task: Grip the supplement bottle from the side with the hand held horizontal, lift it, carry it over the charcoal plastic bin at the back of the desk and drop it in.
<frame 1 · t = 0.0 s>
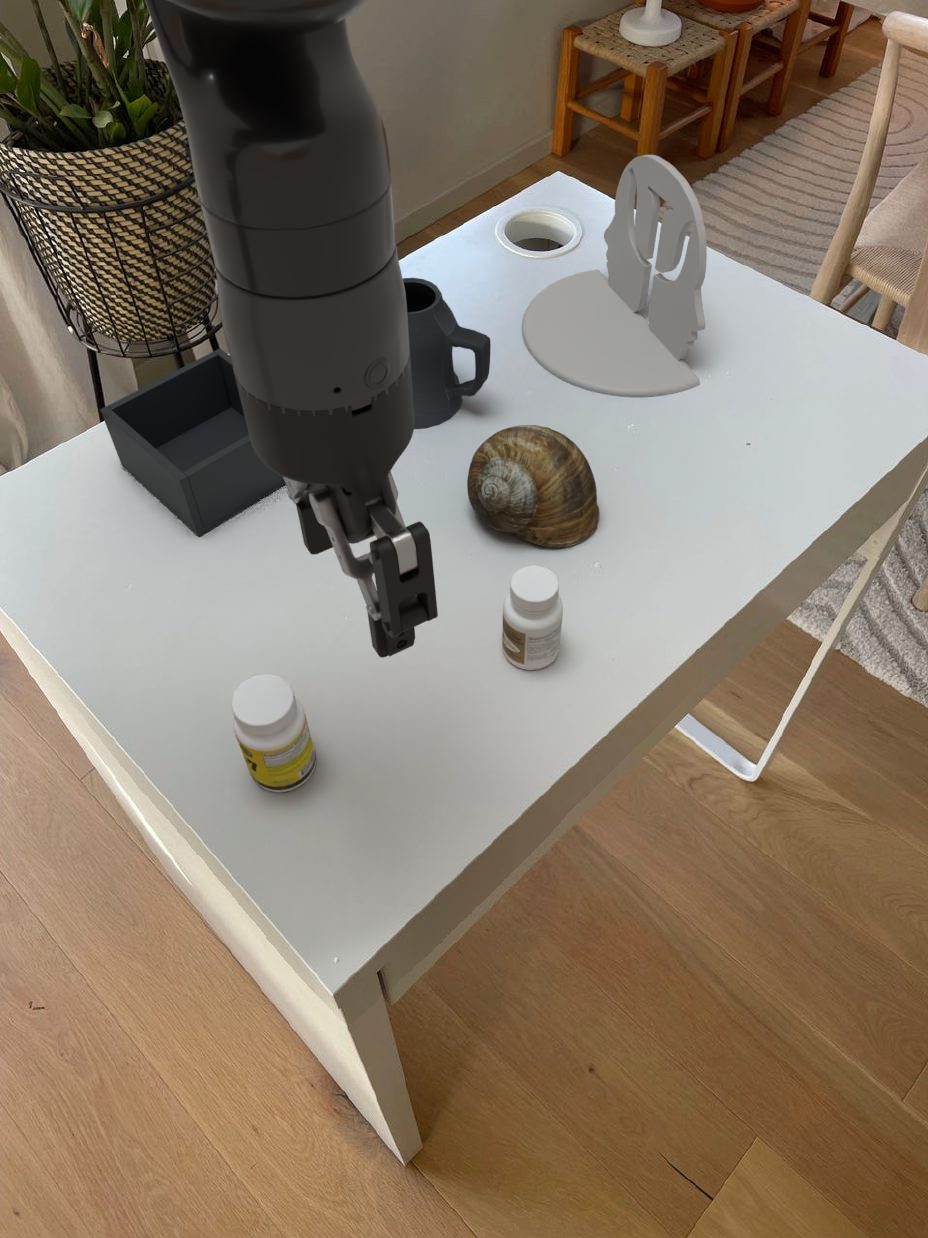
hand: (358, 594, 53), 19 cm above the table, tool pointing down, fingers open, 8 cm apart
ornament: (590, 341, 98), on the table
mug: (429, 403, 92), on the table
bin: (217, 467, 87), on the table
pill bottle: (530, 650, 74), on the table
supplement bottle: (283, 765, 68), on the table
seashell: (531, 516, 83), on the table
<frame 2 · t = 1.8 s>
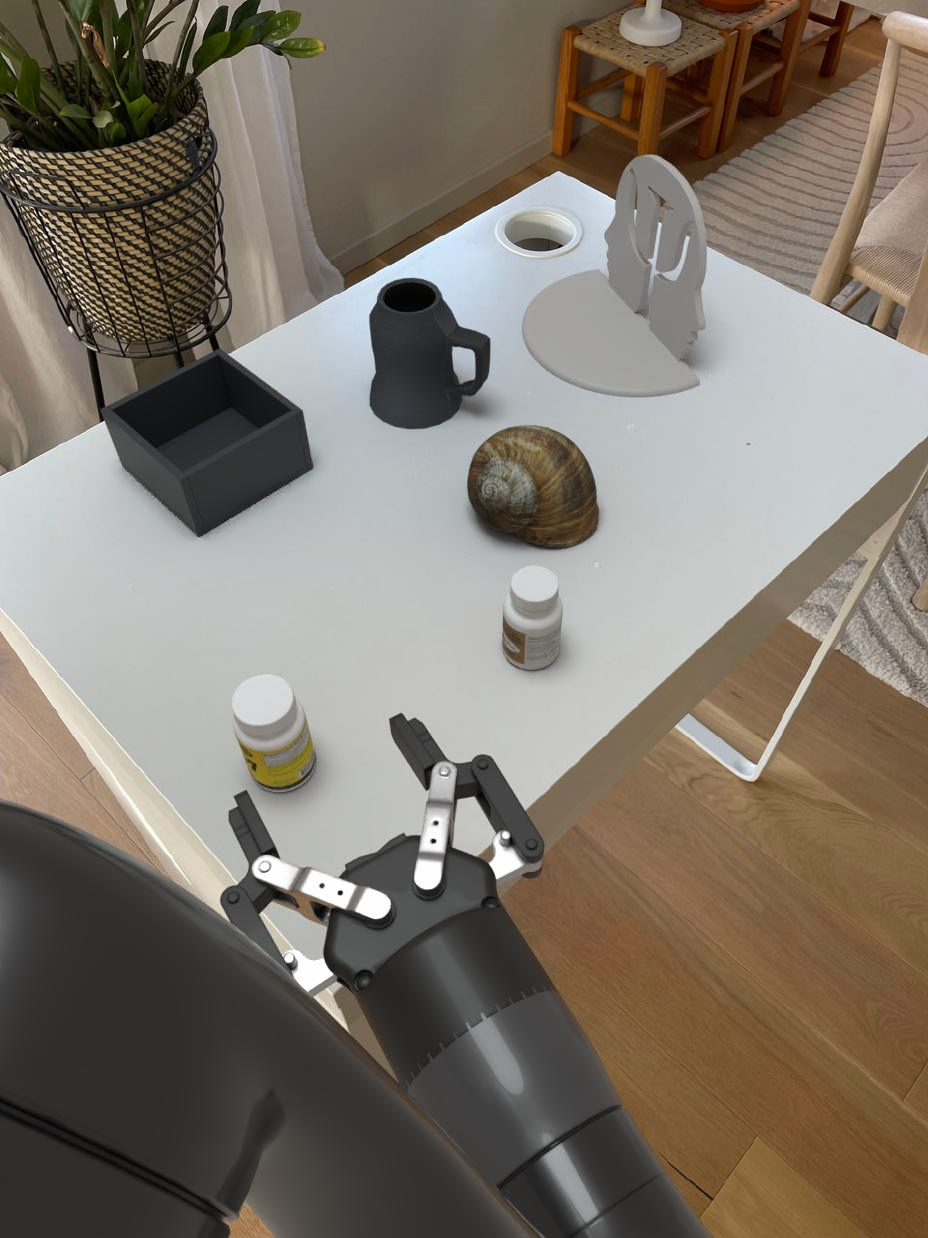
hand: (320, 761, 48), 17 cm above the table, tool horizontal, fingers open, 8 cm apart
nothing on the table moved.
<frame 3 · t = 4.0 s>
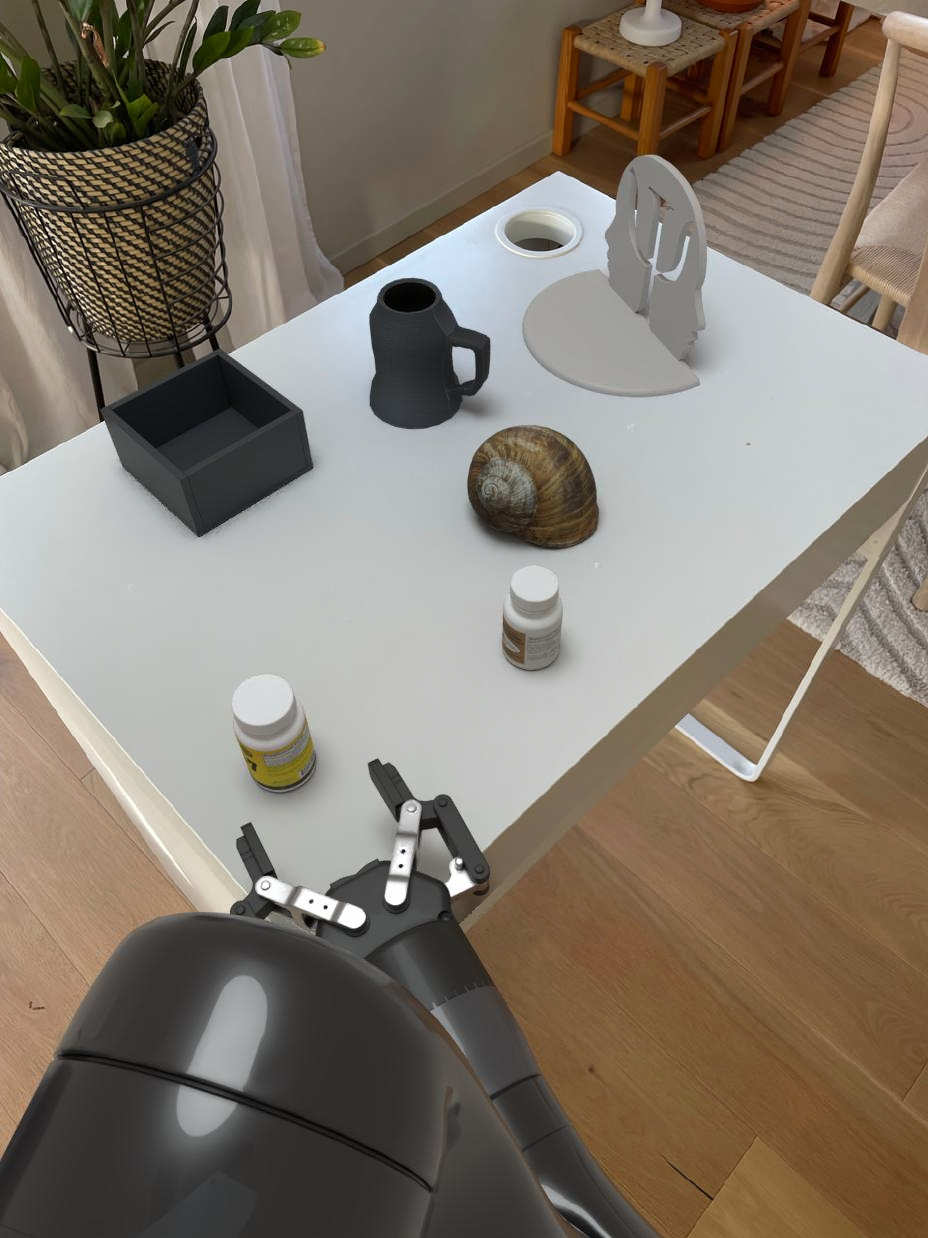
hand: (311, 797, 59), 6 cm above the table, tool horizontal, fingers open, 8 cm apart
nothing on the table moved.
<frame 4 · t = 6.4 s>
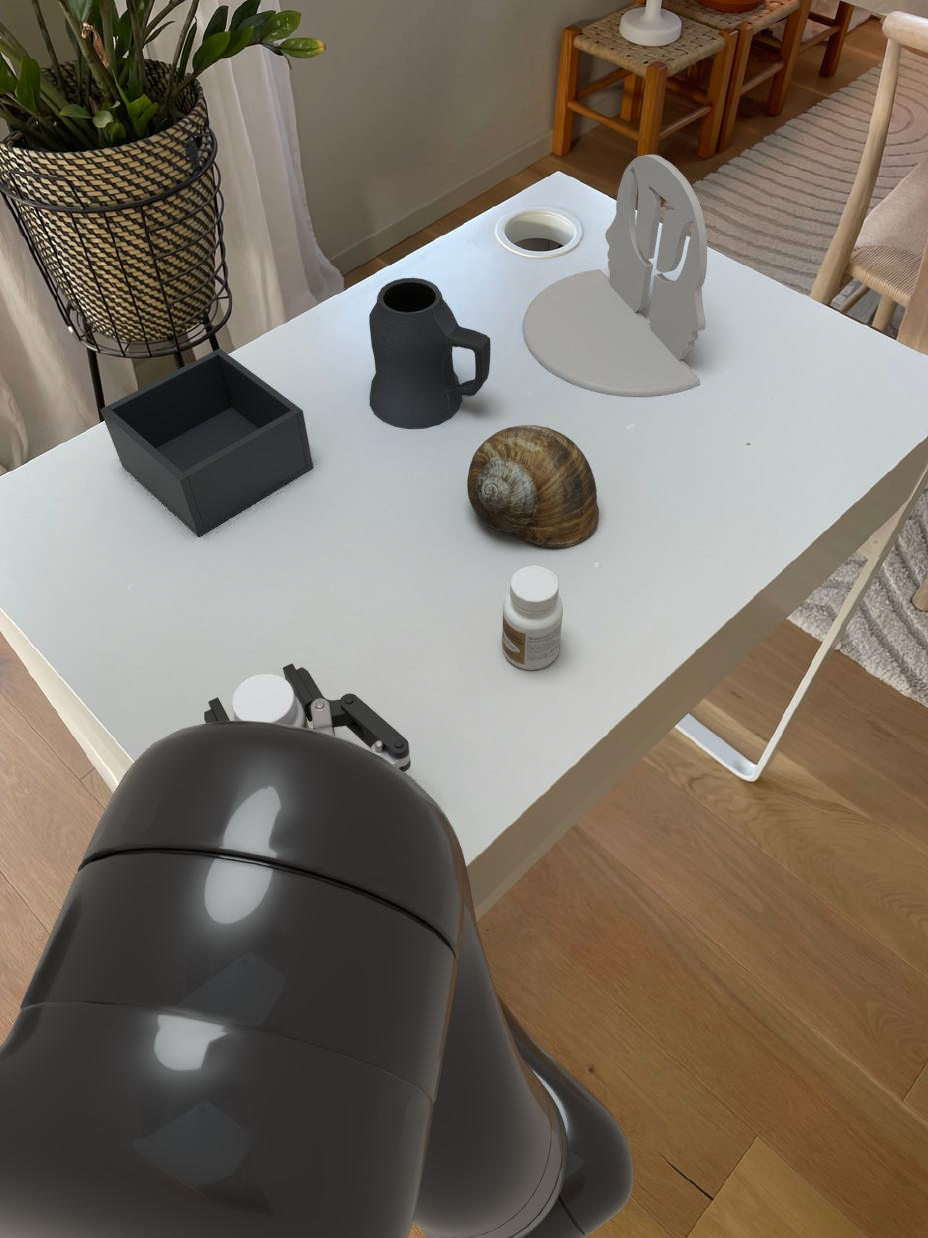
hand: (252, 689, 64), 6 cm above the table, tool horizontal, fingers closed on supplement bottle, 4 cm apart
supplement bottle: (283, 765, 68), on the table, touching gripper
everything else where it was.
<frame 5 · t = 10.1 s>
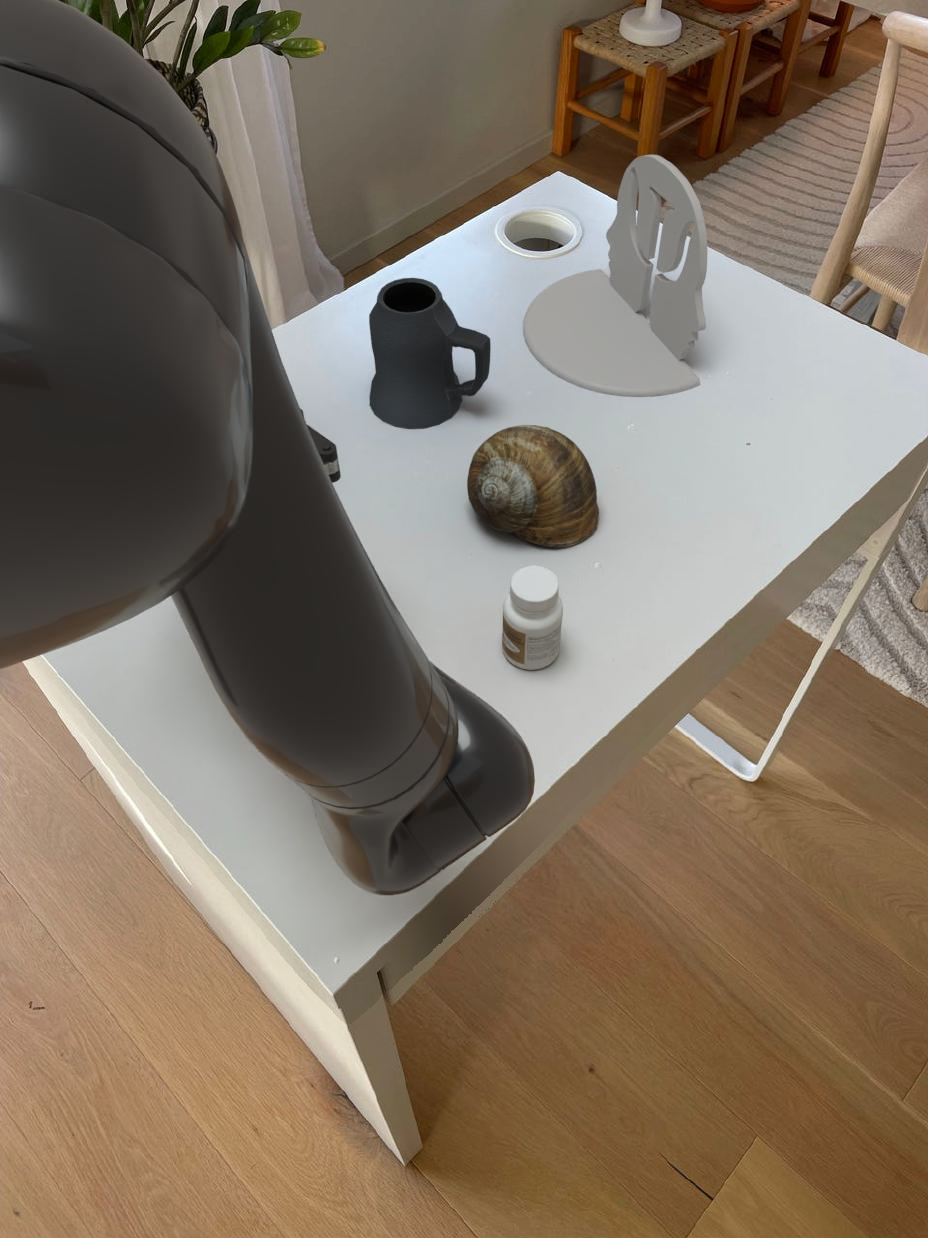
hand: (186, 412, 64), 18 cm above the table, tool horizontal, fingers closed on supplement bottle, 4 cm apart
supplement bottle: (220, 503, 68), point 11 cm above the table, touching gripper
everything else where it was.
when the fingers open (13 cm above the table, at t = 14.1 s): supplement bottle drops 6 cm, resting on bin.
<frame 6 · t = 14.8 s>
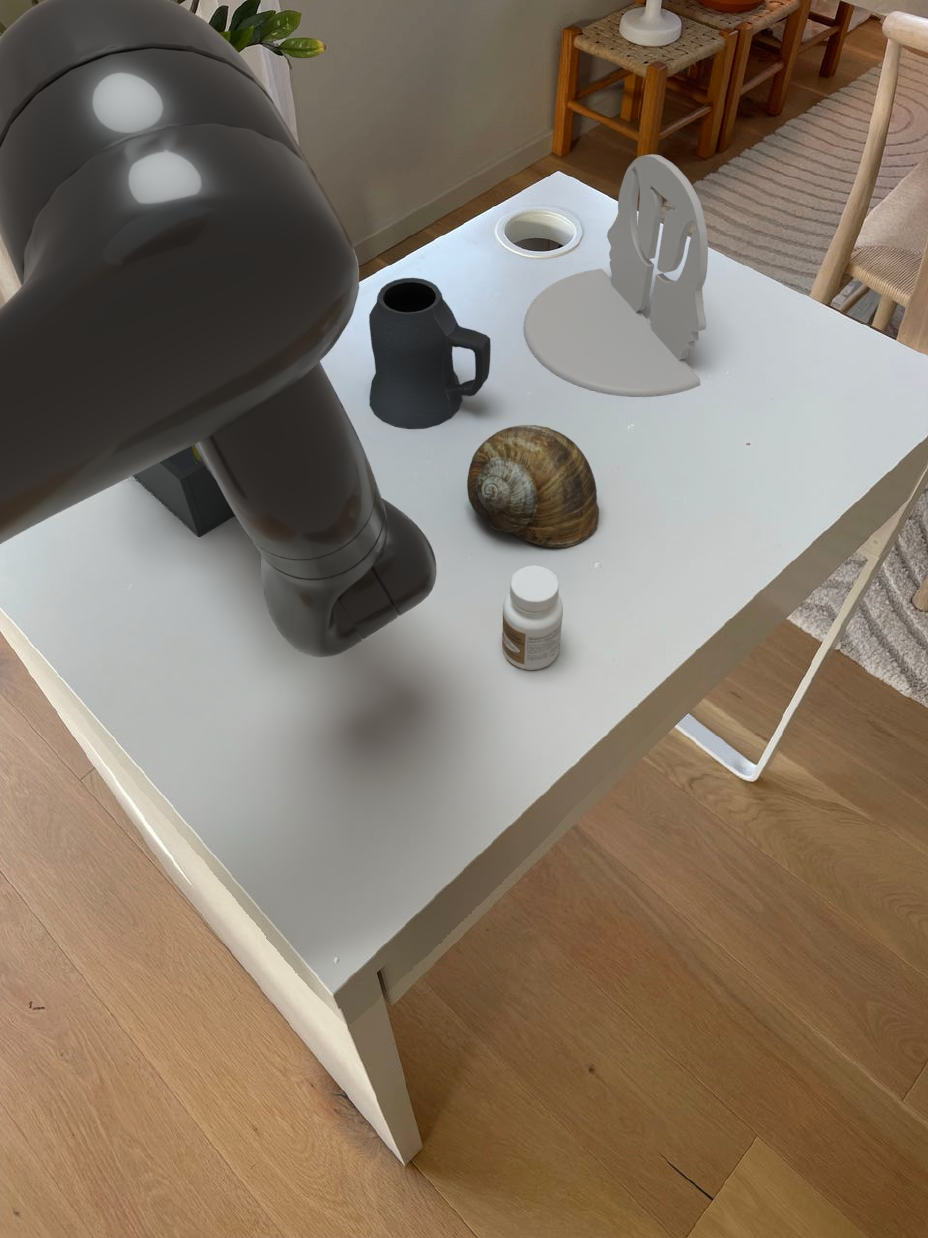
hand: (168, 316, 76), 15 cm above the table, tool horizontal, fingers open, 8 cm apart
supplement bottle: (220, 460, 86), point 1 cm above the table, touching bin
everything else where it was.
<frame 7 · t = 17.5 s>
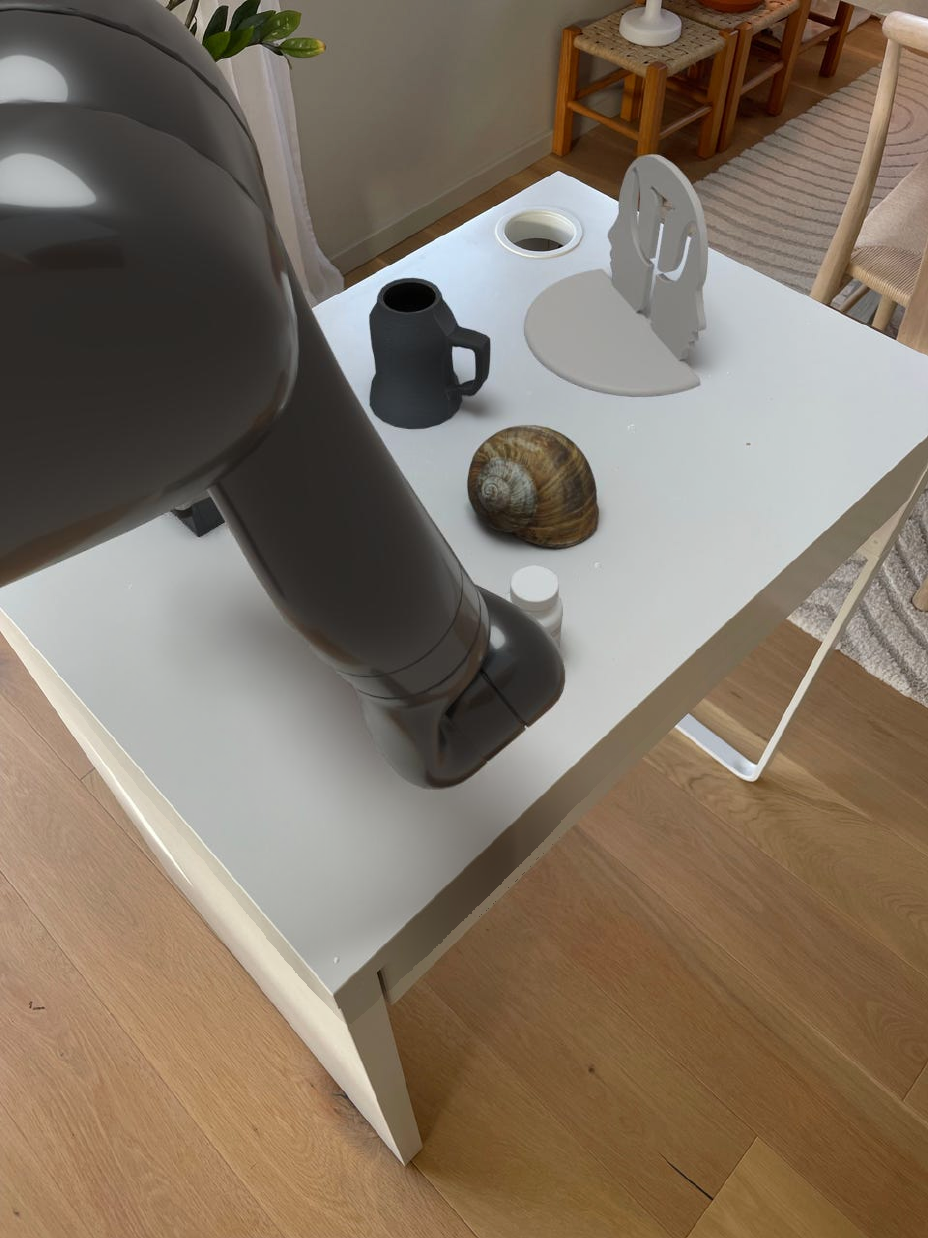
hand: (210, 389, 68), 16 cm above the table, tool horizontal, fingers open, 8 cm apart
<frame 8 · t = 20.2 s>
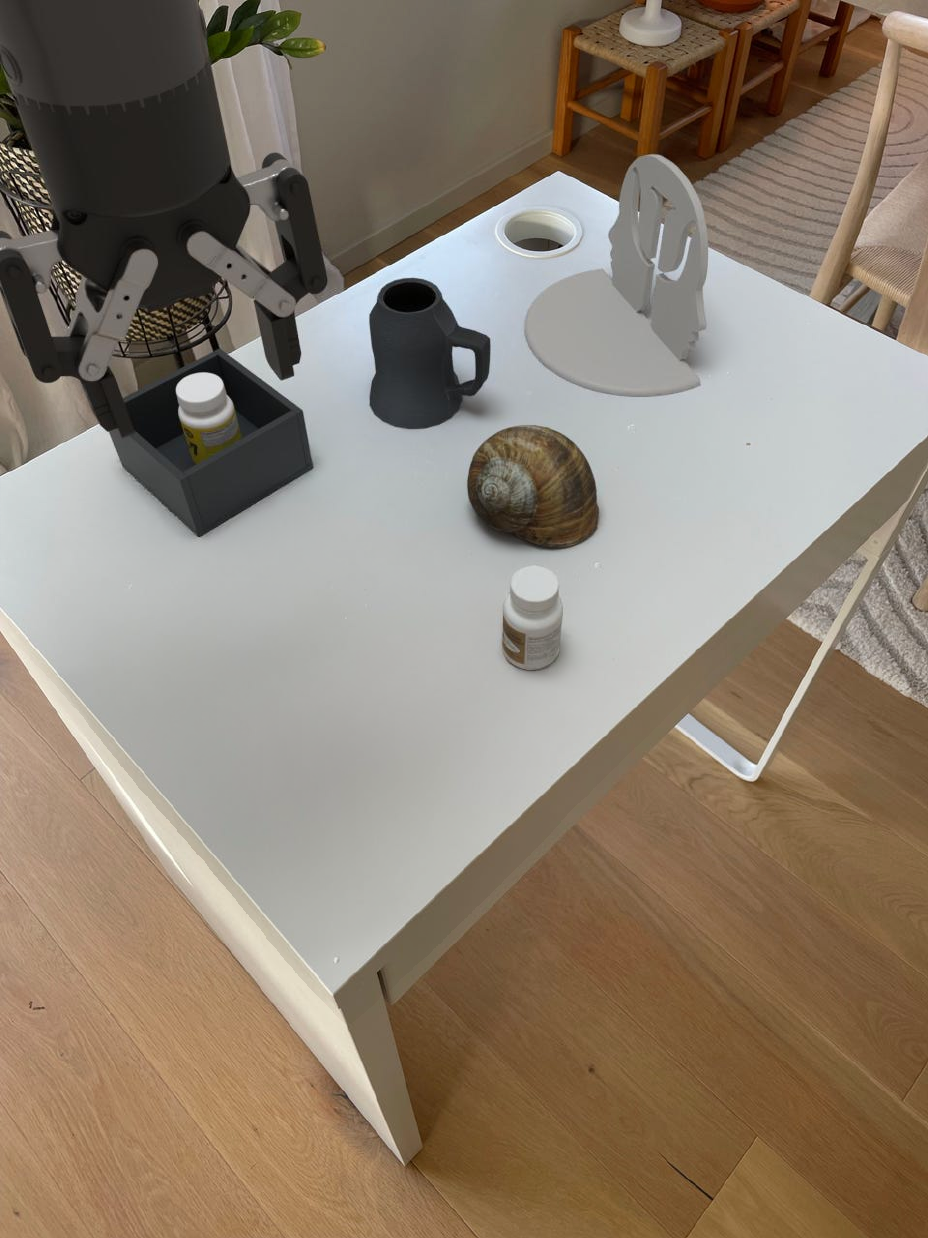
hand: (203, 398, 49), 28 cm above the table, tool pointing down, fingers open, 8 cm apart
nothing on the table moved.
at the end: supplement bottle inside the target area in the bin (0.4 cm from its centre), point 0.4 cm above the bin's base; the gripper is holding nothing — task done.
